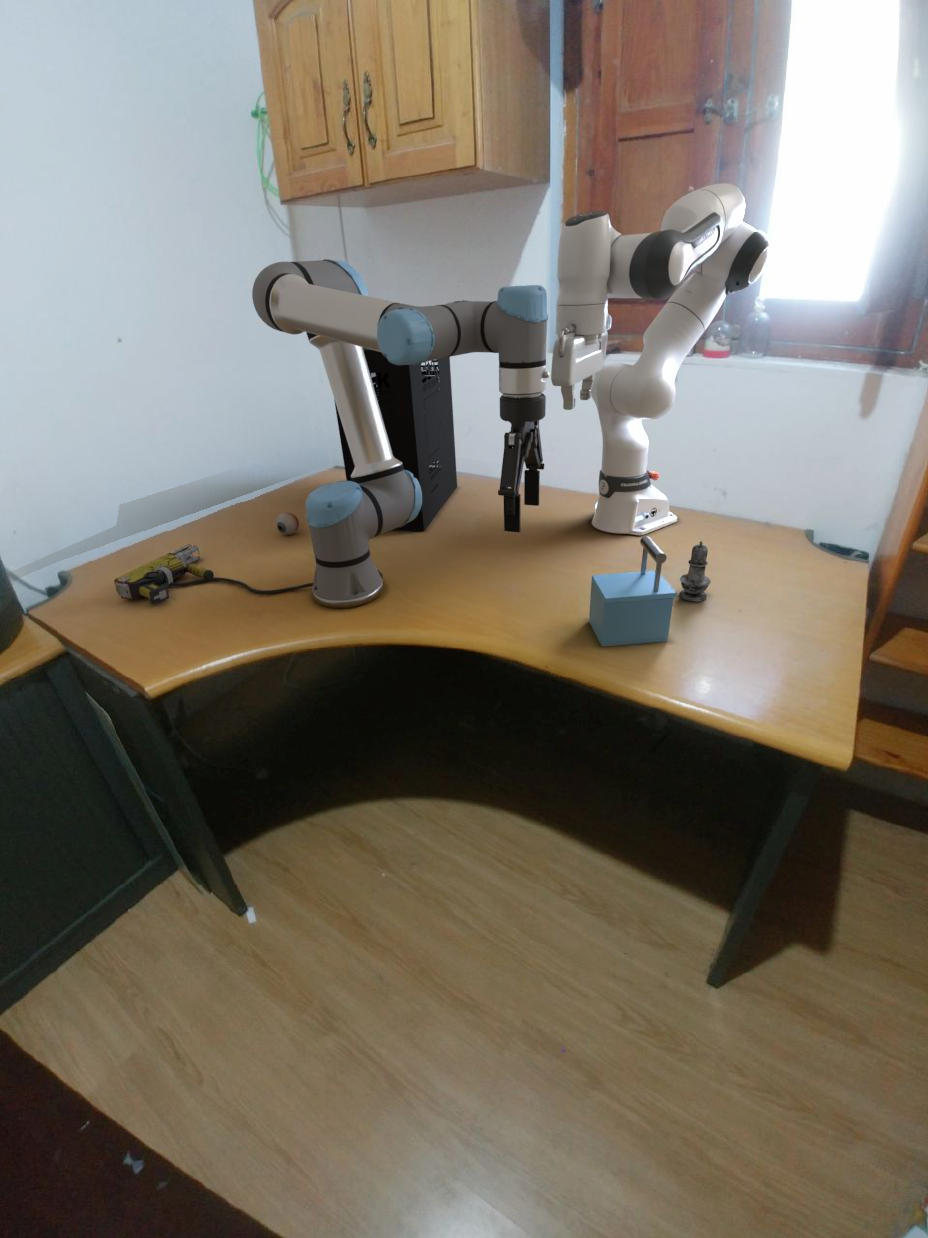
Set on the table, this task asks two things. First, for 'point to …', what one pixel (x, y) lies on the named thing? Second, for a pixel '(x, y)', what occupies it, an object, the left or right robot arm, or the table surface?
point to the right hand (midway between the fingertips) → (577, 404)
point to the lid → (636, 580)
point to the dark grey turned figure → (696, 576)
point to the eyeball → (287, 523)
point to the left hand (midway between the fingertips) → (522, 517)
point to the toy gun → (160, 575)
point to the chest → (629, 620)
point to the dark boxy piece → (415, 427)
